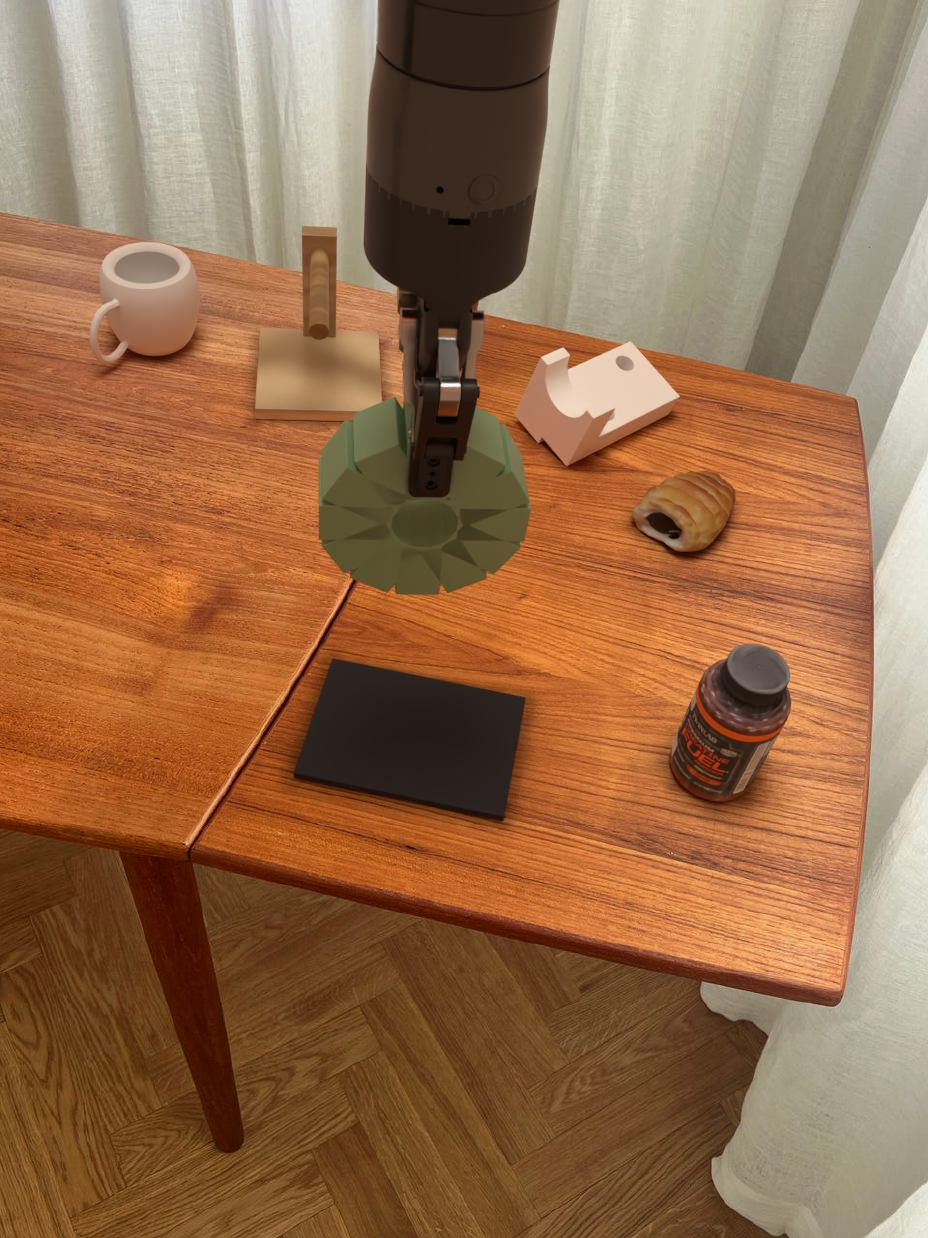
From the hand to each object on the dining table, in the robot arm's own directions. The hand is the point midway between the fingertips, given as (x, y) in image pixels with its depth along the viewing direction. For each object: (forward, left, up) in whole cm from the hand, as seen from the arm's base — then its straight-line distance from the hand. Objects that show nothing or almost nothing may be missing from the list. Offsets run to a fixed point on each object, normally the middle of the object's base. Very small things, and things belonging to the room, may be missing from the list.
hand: (425, 462), depth 61 cm
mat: (-1, -2, -23) cm, 23 cm away
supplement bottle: (+13, -17, -23) cm, 31 cm away
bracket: (+35, +13, -23) cm, 44 cm away
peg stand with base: (+19, +33, -23) cm, 44 cm away
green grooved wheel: (0, 0, -3) cm, 3 cm away
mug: (+9, +46, -23) cm, 52 cm away
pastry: (+31, 0, -23) cm, 38 cm away
